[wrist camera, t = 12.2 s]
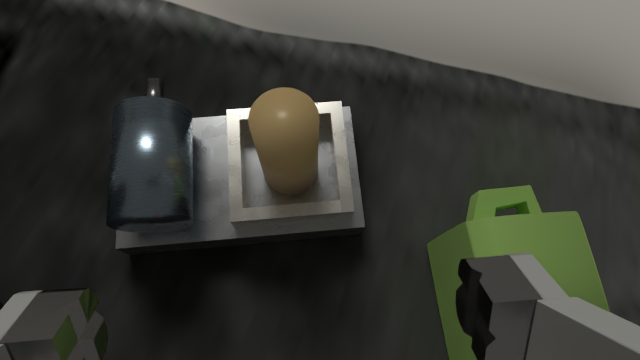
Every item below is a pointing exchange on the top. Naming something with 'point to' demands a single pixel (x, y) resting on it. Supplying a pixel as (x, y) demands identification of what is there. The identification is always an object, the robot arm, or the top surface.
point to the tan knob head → (286, 139)
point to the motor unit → (219, 180)
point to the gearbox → (508, 238)
